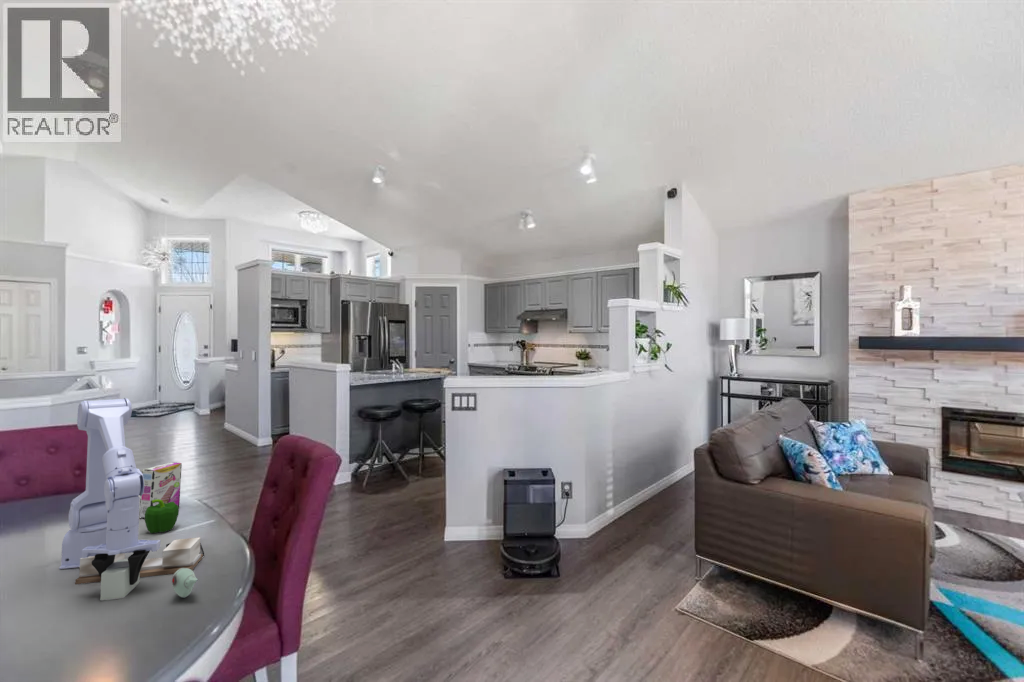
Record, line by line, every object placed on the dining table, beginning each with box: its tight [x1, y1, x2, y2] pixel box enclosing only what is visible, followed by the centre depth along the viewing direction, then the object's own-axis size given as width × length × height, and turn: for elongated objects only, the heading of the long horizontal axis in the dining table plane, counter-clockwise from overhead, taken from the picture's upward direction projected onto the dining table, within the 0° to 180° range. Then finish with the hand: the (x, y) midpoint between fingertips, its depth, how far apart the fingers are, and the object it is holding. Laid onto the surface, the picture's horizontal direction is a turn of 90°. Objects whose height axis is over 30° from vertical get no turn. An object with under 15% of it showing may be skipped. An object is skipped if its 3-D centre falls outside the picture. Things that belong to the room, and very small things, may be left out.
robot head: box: [171, 568, 199, 598], centre depth 103 cm, size 8×4×7 cm, turn 57°
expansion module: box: [99, 558, 141, 601], centre depth 105 cm, size 4×7×6 cm, turn 17°
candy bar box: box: [139, 462, 183, 519], centre depth 155 cm, size 11×5×16 cm, turn 172°
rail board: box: [74, 537, 204, 585], centre depth 116 cm, size 24×8×6 cm, turn 107°
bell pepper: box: [144, 499, 180, 534], centre depth 141 cm, size 8×8×10 cm
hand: (120, 584), depth 105 cm, fingers closed on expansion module, 4 cm apart
